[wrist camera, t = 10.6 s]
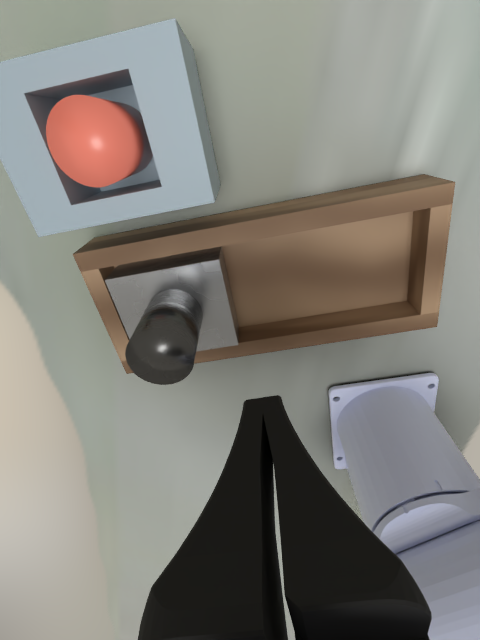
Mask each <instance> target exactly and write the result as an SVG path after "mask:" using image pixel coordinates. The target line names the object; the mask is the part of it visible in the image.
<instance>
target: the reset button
mask: <svg viewBox="0 0 480 640" xmlns="http://www.w3.org/2000/svg"><path fill="white" fill-rule="evenodd" d="M46 137H47V143H48V147H49V150H50V152H51V154H52V157H53V158H54V160H55V162H56V163H57V165H58V166H59V167H60V169H61V170H62V171H63V172H64V173H65V174H66V175H68V176H69V177H70V178H71V179H73V180H74V181H76V182H78V183H80V184H82V185H85V186H89V187H105V186H109V185H111V184H113V183H116V182H118V181H120V180H122V179H125V178H127V177H129V176H132V175H134V174H136V173H138V172H140V171H142V170H143V169H144V168H146V166H147V165H148V164H149V162H150V161H151V158H152V156H153V154H152V150H151V146H150V143H149V139H148V136H147V132H146V129H145V125H144V122H143V118H142V115H141V113H140V112H139V111H137V110H136V109H135V108H133V107H131V106H129V105H127V104H124V103H120V102H115V101H110V100H105V99H101V98H96V97H91V96H86V95H71V96H68V97H65V98H63V99H62V100H60V101H59V102H58V103H56V105H55V106H54V107H53V108H52V110H51V112H50V114H49V116H48V119H47V124H46Z"/></svg>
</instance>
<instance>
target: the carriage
mask: <svg viewBox="0 0 480 640" xmlns="http://www.w3.org/2000/svg"><path fill="white" fill-rule="evenodd" d="M105 282H106V284H107V287H108V289H109V292H110V294H111V296H112V299H113V301H114V303H115V306H116V308H117V311H118V313H119V315H120V318H121V320H122V323H123V325H124V327H125V330H126V332H127V335H128V337H129V339H130V340H129V342H128V344H127V347H126V351H125V357H126V361H127V364H128V365H129V367H130V369H131V370H132V371H133V372H134V373H135V374H136V375H137V376H138V377H140V378H142V379H143V380H145V381H148V382H151V383H154V384H161V385H166V384H173V383H176V382H179V381H181V380H183V379H184V378H185V377H187V376H188V375H189V374H190V372H191V370H192V368H193V365H194V360H195V355H196V351H202V350H209V349H215V348H222V347H228V346H235V345H238V326H239V324H238V319H237V314H236V310H235V305H234V301H233V296H232V292H231V287H230V282H229V278H228V273H227V269H226V264H225V260H224V255H223V251H222V246H220V247H215V248H209V249H204V250H198V251H193V252H187V253H182V254H177V255H171V256H166V257H160V258H155V259H149V260H144V261H138V262H133V263H127V264H122V265H118V266H117V267H116V268H115V269H114V270H113V271H112V272H111V274H110V275H109V276H108V277H107V278H106V279H105Z"/></svg>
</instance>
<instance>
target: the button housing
mask: <svg viewBox="0 0 480 640" xmlns="http://www.w3.org/2000/svg"><path fill="white" fill-rule="evenodd" d="M71 95H86V96H91V97H96V98H101V99H105V100H110V101H115V102H120V103H124V104H127V105H129V106H131V107H133V108H135V109H136V110H137V111H139V112H140V113H141V115H142V118H143V122H144V125H145V129H146V132H147V136H148V139H149V143H150V146H151V150H152V154H153V156H152V158H151V161H150V162H149V164H148V165H147V166H146V168H144V169H143V170H142V171H140V172H138V173H136V174H134V175H132V176H129V177H127V178H125V179H122V180H120V181H118V182H116V183H113V184H111V185H109V186H105V187H89V186H85V185H82V184H80V183H78V182H76V181H74V180H73V179H71V178H70V177H69V176H68V175H66V174H65V173H64V172H63V171H62V170H61V169H60V167H59V166H58V165H57V163H56V162H55V160H54V158H53V157H52V154H51V152H50V150H49V147H48V143H47V137H46V124H47V119H48V116H49V114H50V112H51V110H52V108H53V107H54V106H55V105H56V103H58V102H59V101H60V100H62V99H63V98H65V97H68V96H71ZM0 159H1V161H2V163H3V165H4V167H5V169H6V172H7V174H8V176H9V178H10V180H11V182H12V184H13V186H14V188H15V190H16V192H17V194H18V196H19V198H20V200H21V202H22V204H23V206H24V208H25V210H26V212H27V214H28V216H29V218H30V220H31V222H32V224H33V226H34V229H35V231H36V233H37V235H38V237H41V236H46V235H51V234H56V233H61V232H66V231H71V230H76V229H81V228H87V227H92V226H97V225H102V224H107V223H112V222H117V221H122V220H127V219H133V218H138V217H143V216H148V215H153V214H158V213H163V212H168V211H173V210H179V209H184V208H189V207H194V206H199V205H204V204H209V203H214V202H215V200H216V197H217V194H218V191H219V188H220V185H221V184H220V179H219V174H218V170H217V165H216V160H215V155H214V150H213V145H212V140H211V135H210V130H209V125H208V120H207V115H206V110H205V105H204V100H203V95H202V90H201V85H200V80H199V75H198V70H197V65H196V60H195V55H194V50H193V48H192V46H191V44H190V43H189V41H188V39H187V38H186V36H185V34H184V33H183V31H182V29H181V27H180V26H179V24H178V22H177V21H176V19H175V18H174V19H170V20H166V21H162V22H158V23H154V24H150V25H146V26H142V27H138V28H134V29H130V30H126V31H122V32H118V33H114V34H110V35H106V36H102V37H98V38H94V39H90V40H86V41H82V42H78V43H74V44H70V45H66V46H62V47H58V48H54V49H50V50H46V51H42V52H38V53H34V54H30V55H26V56H22V57H18V58H14V59H10V60H6V61H2V62H0Z"/></svg>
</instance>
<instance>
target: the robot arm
mask: <svg viewBox="0 0 480 640" xmlns="http://www.w3.org/2000/svg"><path fill="white" fill-rule="evenodd" d="M438 382H439V378H438V376H437V375H436V374H435V373H426V374H418V375H411V376H404V377H397V378H390V379H383V380H375V381H368V382H361V383H354V384H347V385H340V386H334V387H331V388H330V389H329V392H328V393H329V407H330V420H331V434H332V448H333V462H334V466H335V468H336V469H347V470H348V474H349V477H350V480H351V483H352V486H353V490H354V493H355V496H356V499H357V502H358V506H359V509H360V512H361V515H362V518H363V521H364V523H363V521H362V520H361V519H360V518H359V517H358V516H357V515H356V514H355V513H354V511H353V510H352V509H351V508H350V507H349V506H348V505H347V503H346V502H345V501H344V500H343V499H342V498H341V497H340V495H339V494H338V493H337V492H336V490H335V489H334V488H333V487H332V485H331V484H330V483H329V482H328V480H327V479H326V478H325V476H324V475H323V474H322V472H321V471H320V470H319V468H318V467H317V465H316V464H315V462H314V461H313V459H312V458H311V456H310V455H309V453H308V452H307V450H306V449H305V447H304V445H303V444H302V442H301V440H300V439H299V437H298V435H297V433H296V432H295V430H294V428H293V426H292V424H291V422H290V420H289V418H288V416H287V413H286V411H285V408H284V406H283V403H282V399H281V397H280V396H278V395H277V396H270V397H263V398H256V399H250V400H246V401H245V402H244V405H243V411H242V416H241V420H240V423H239V427H238V431H237V434H236V437H235V440H234V443H233V446H232V449H231V452H230V454H229V457H228V459H227V462H226V464H225V467H224V469H223V471H222V474H221V476H220V478H219V480H218V483H217V485H216V487H215V489H214V491H213V493H212V495H211V497H210V499H209V500H208V502H207V504H206V506H205V508H204V510H203V511H202V513H201V515H200V517H199V518H198V520H197V522H196V524H195V525H194V527H193V528H192V530H191V531H190V533H189V535H188V536H187V538H186V539H185V541H184V542H183V544H182V545H181V547H180V549H179V550H178V552H177V553H176V554H175V556H174V557H173V559H172V560H171V561H170V563H169V564H168V565H167V567H166V568H165V570H164V571H163V572H162V574H161V575H160V576H159V578H158V579H157V580H156V582H155V583H154V584H153V586H152V588H151V591H150V593H149V596H148V599H147V602H146V606H145V609H144V613H143V616H142V620H141V625H140V630H139V636H138V640H288V637H287V628H286V620H285V612H284V603H283V595H282V587H281V578H280V569H279V561H278V552H277V543H276V534H275V516H274V482H273V464H274V470H275V480H276V490H277V501H278V512H279V524H280V536H281V548H282V562H283V575H284V590H285V597H286V601H287V605H288V608H289V612H290V616H291V620H292V623H293V627H294V631H295V639H296V640H480V479H479V478H478V476H477V475H476V473H475V472H474V470H473V469H472V468H471V466H470V465H469V463H468V462H467V460H466V459H465V457H464V456H463V454H462V453H461V451H460V450H459V448H458V447H457V446H456V444H455V443H454V441H453V440H452V438H451V437H450V435H449V434H448V432H447V431H446V429H445V428H444V426H443V425H442V424H441V422H440V421H439V419H438V418H437V416H436V415H435V413H434V410H435V403H436V396H437V389H438ZM429 384H431V385H429ZM334 397H337V398H334Z"/></svg>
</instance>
